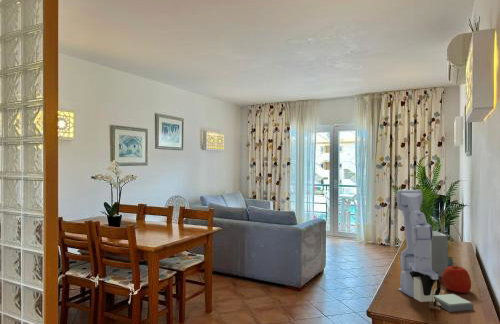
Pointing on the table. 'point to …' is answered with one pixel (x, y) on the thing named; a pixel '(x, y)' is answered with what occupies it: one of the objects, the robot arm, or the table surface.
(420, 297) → the carton
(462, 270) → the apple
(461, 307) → the tray
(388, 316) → the table surface
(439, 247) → the hard drive box
